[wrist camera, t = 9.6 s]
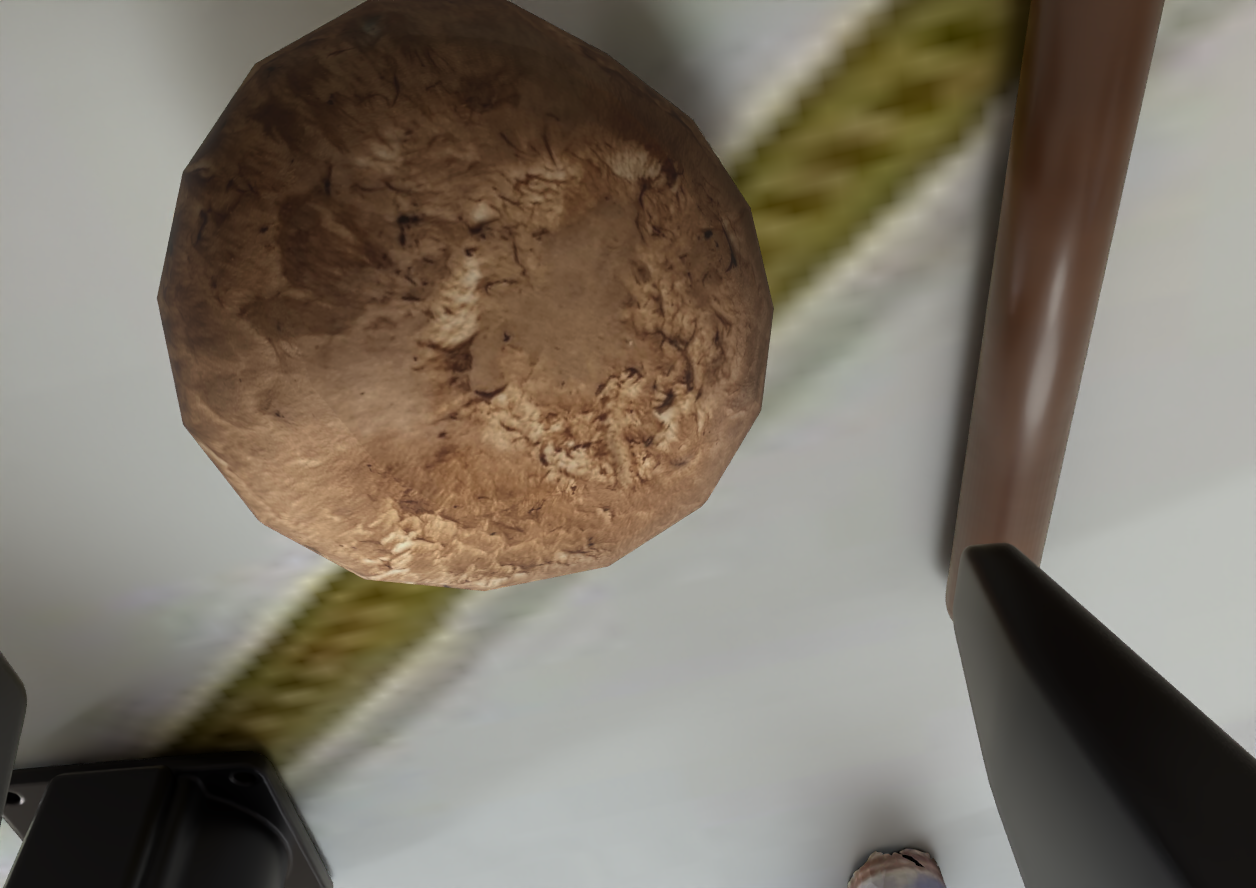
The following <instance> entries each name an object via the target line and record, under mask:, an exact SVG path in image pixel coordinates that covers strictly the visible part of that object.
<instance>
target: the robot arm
mask: <svg viewBox="0 0 1256 888" xmlns="http://www.w3.org/2000/svg"><path fill="white" fill-rule="evenodd" d="M953 623H954V630H955V635H956V640H957V644H958V648H959V653H960V657H961V662H962V666H963V671H964V675H965V680H966V684H967V689H968V693H969V697H970V702H971V706H972V711H973V715H974V720H975V724H976V729H977V733H978V737H979V742H980V746H981V751H982V755H983V760H984V764H985V768H986V772H987V776H988V780H989V784H990V787H991V790H992V793H993V796H994V800H995V803H996V806H997V809H998V812H999V815H1000V817H1001V820H1002V823H1003V826H1004V829H1005V832H1006V834H1007V837H1008V840H1009V843H1010V846H1011V849H1012V851H1013V854H1014V857H1015V860H1016V863H1017V866H1018V868H1019V871H1020V874H1021V877H1022V880H1023V883H1024V885H1025V888H1256V759H1255V758H1254V757H1253V756H1252V755H1250V754H1249V753H1248V752H1247V751H1246V750H1245V749H1244V748H1242V747H1241V746H1240V745H1239V744H1238V743H1237V742H1236V741H1235V740H1233V739H1232V738H1231V737H1230V736H1229V735H1228V734H1227V733H1226V732H1224V731H1223V730H1222V729H1221V728H1220V727H1219V726H1218V725H1217V724H1215V723H1214V722H1213V721H1212V720H1211V719H1210V718H1209V717H1207V716H1206V715H1205V714H1204V713H1203V712H1202V711H1201V710H1200V709H1198V708H1197V707H1196V706H1195V705H1194V704H1193V703H1192V702H1191V701H1189V700H1188V699H1187V698H1186V697H1185V696H1184V695H1183V694H1181V693H1180V692H1179V691H1178V690H1177V689H1176V688H1175V687H1174V686H1172V685H1171V684H1170V683H1169V682H1168V681H1167V680H1166V679H1165V678H1163V677H1162V676H1161V675H1160V674H1159V673H1158V672H1157V671H1155V670H1154V669H1153V668H1152V667H1151V666H1150V665H1149V664H1148V663H1146V662H1145V661H1144V660H1143V659H1142V658H1141V657H1140V656H1139V655H1137V654H1136V653H1135V652H1134V651H1133V650H1132V649H1131V648H1130V647H1128V646H1127V645H1126V644H1125V643H1124V642H1123V641H1122V640H1120V639H1119V638H1118V637H1117V636H1116V635H1115V634H1114V633H1113V632H1111V631H1110V630H1109V629H1108V628H1107V627H1106V626H1105V625H1104V624H1102V623H1101V622H1100V621H1099V620H1098V619H1097V618H1096V617H1094V616H1093V615H1092V614H1091V613H1090V612H1089V611H1088V610H1087V609H1085V608H1084V607H1083V606H1082V605H1081V604H1080V603H1079V602H1078V601H1076V600H1075V599H1074V598H1073V597H1072V596H1071V595H1070V594H1068V593H1067V592H1066V591H1065V590H1064V589H1063V588H1062V587H1061V586H1059V585H1058V584H1057V583H1056V582H1055V581H1054V580H1053V579H1052V578H1050V577H1049V576H1048V575H1047V574H1046V573H1045V572H1044V571H1043V570H1041V569H1040V568H1039V567H1038V566H1037V565H1036V564H1035V563H1033V562H1032V561H1031V560H1030V559H1029V558H1028V557H1027V556H1026V555H1024V554H1023V553H1022V552H1021V551H1020V550H1019V549H1018V548H1016V547H1015V546H1013V545H1011V544H1009V543H992V544H980V545H970V546H968V547H966V548H965V549H964V550H963V552H962V554H961V557H960V563H959V569H958V576H957V583H956V589H955V596H954V602H953ZM26 706H27V697H26V690H25V687H24V684H23V682H22V681H21V679H20V678H19V676H18V675H17V673H16V672H15V671H14V669H13V668H12V666H11V665H10V664H9V662H8V661H7V660H6V658H5V657H4V655H3V654H2V653H1V651H0V825H1V821H2V817H3V818H4V820H5V821H6V822H7V823H8V824H9V826H10V827H11V828H12V829H13V830H14V831H15V833H16V834H17V835H18V836H19V837H20V839H21V840H22V841H23V843H22V845H21V847H20V850H19V852H18V854H17V857H16V859H15V861H14V864H13V866H12V868H11V870H10V873H9V875H8V877H7V880H6V882H5V884H4V887H3V888H333V882H332V880H331V878H330V876H329V874H328V872H327V870H326V868H325V866H324V865H323V863H322V861H321V859H320V857H319V855H318V853H317V851H316V849H315V847H314V845H313V843H312V841H311V839H310V838H309V836H308V834H307V832H306V830H305V828H304V826H303V824H302V822H301V820H300V818H299V816H298V814H297V812H296V811H295V809H294V807H293V805H292V803H291V801H290V799H289V797H288V795H287V793H286V791H285V789H284V787H283V786H282V784H281V782H280V780H279V778H278V776H277V774H276V772H275V770H274V768H273V766H272V764H271V762H270V761H269V760H268V759H267V758H266V757H265V756H263V755H261V754H259V753H255V752H251V751H237V752H224V753H212V754H200V755H187V756H175V757H163V758H150V759H138V760H126V761H113V762H101V763H89V764H76V765H64V766H52V767H39V768H27V769H15V770H13V767H14V762H15V758H16V753H17V749H18V745H19V740H20V736H21V731H22V727H23V722H24V718H25V713H26Z"/></svg>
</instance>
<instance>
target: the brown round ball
mask: <svg viewBox="0 0 1256 888" xmlns="http://www.w3.org/2000/svg"><path fill="white" fill-rule="evenodd" d="M157 301H158V305H159V310H160V315H161V320H162V325H163V330H164V334H165V339H166V344H167V349H168V354H169V358H170V363H171V368H172V373H173V378H174V383H175V387H176V392H177V397H178V402H179V407H180V412H181V416H182V421H183V425H184V426H185V427H186V429H187V430H188V431H189V433H190V434H191V435H192V436H193V438H194V439H195V440H196V441H197V443H198V444H199V445H200V447H201V448H202V449H203V450H204V452H205V453H206V454H207V455H208V457H209V458H210V459H211V461H212V462H213V463H214V464H215V466H216V467H217V468H218V469H219V471H220V472H221V473H222V475H223V476H224V477H225V478H226V480H227V481H228V482H229V483H230V485H231V486H232V487H233V489H234V490H235V491H236V492H237V494H238V495H239V496H240V498H241V499H242V500H243V501H244V503H245V504H246V505H247V506H248V508H249V509H250V510H251V512H252V513H253V514H254V515H255V517H256V518H257V519H258V520H259V521H260V522H262V523H263V524H264V525H266V526H268V527H269V528H271V529H273V530H275V531H277V532H279V533H280V534H282V535H284V536H286V537H288V538H290V539H292V540H293V541H295V542H297V543H299V544H301V545H303V546H304V547H306V548H308V549H310V550H312V551H314V552H316V553H317V554H319V555H321V556H323V557H325V558H327V559H328V560H330V561H332V562H334V563H336V564H338V565H340V566H341V567H343V568H345V569H347V570H349V571H351V572H353V573H354V574H356V575H358V576H360V577H362V578H364V579H367V580H377V581H388V582H398V583H408V584H419V585H429V586H439V587H450V588H460V589H470V590H481V591H487V590H492V589H497V588H502V587H507V586H512V585H517V584H522V583H527V582H532V581H537V580H542V579H547V578H552V577H557V576H562V575H567V574H572V573H577V572H582V571H587V570H592V569H597V568H602V567H607V566H609V565H611V564H613V563H614V562H616V561H617V560H619V559H620V558H622V557H624V556H625V555H627V554H628V553H630V552H631V551H633V550H634V549H636V548H638V547H639V546H641V545H642V544H644V543H645V542H647V541H648V540H650V539H652V538H653V537H655V536H656V535H658V534H659V533H661V532H663V531H664V530H666V529H667V528H669V527H670V526H672V525H673V524H675V523H677V522H678V521H680V520H681V519H683V518H684V517H686V516H688V515H689V514H691V513H692V512H694V511H695V510H697V509H698V508H700V507H702V505H703V504H704V503H705V502H706V501H707V500H708V498H709V496H710V495H711V493H712V491H713V490H714V488H715V486H716V485H717V483H718V481H719V480H720V478H721V476H722V475H723V473H724V471H725V470H726V468H727V466H728V465H729V463H730V461H731V460H732V458H733V456H734V455H735V453H736V451H737V450H738V448H739V446H740V445H741V443H742V441H743V440H744V438H745V436H746V435H747V433H748V431H749V430H750V428H751V426H752V425H753V423H754V421H755V420H756V418H757V416H758V415H759V413H760V411H761V407H762V399H763V391H764V383H765V375H766V367H767V359H768V350H769V342H770V334H771V326H772V318H773V310H774V308H773V303H772V299H771V295H770V290H769V286H768V282H767V277H766V273H765V269H764V264H763V260H762V256H761V251H760V247H759V243H758V238H757V234H756V230H755V225H754V221H753V217H752V212H751V208H750V206H749V205H748V203H747V202H746V200H745V199H744V197H743V196H742V194H741V193H740V191H739V190H738V188H737V187H736V185H735V183H734V182H733V180H732V179H731V177H730V176H729V174H728V173H727V171H726V170H725V168H724V167H723V165H722V164H721V162H720V160H719V159H718V157H717V156H716V154H715V153H714V151H713V150H712V148H711V147H710V145H709V144H708V142H707V141H706V139H705V137H704V136H703V134H702V133H701V131H700V130H699V128H698V127H697V125H696V124H695V122H694V121H693V119H691V118H690V117H689V116H687V115H686V114H685V113H684V112H682V111H681V110H680V109H678V108H677V107H676V106H674V105H673V104H672V103H671V102H669V101H668V100H667V99H665V98H664V97H663V96H661V95H660V94H659V93H658V92H656V91H655V90H654V89H652V88H651V87H650V86H648V85H647V84H646V83H645V82H643V81H642V80H641V79H639V78H638V77H637V76H635V75H634V74H633V73H631V72H630V71H629V70H628V69H626V68H625V67H624V66H622V65H621V64H620V63H618V62H617V61H616V60H615V59H613V58H612V57H611V56H609V55H608V54H607V53H605V52H603V51H601V50H599V49H597V48H595V47H594V46H592V45H590V44H588V43H586V42H584V41H582V40H580V39H579V38H577V37H575V36H573V35H571V34H569V33H567V32H566V31H564V30H562V29H560V28H558V27H556V26H554V25H552V24H551V23H549V22H547V21H545V20H543V19H541V18H539V17H537V16H536V15H534V14H532V13H530V12H528V11H526V10H524V9H522V8H521V7H519V6H517V5H515V4H513V3H511V2H509V1H507V0H367V1H365V2H364V3H362V4H360V5H358V6H357V7H355V8H353V9H351V10H350V11H348V12H346V13H344V14H342V15H341V16H339V17H337V18H335V19H334V20H332V21H330V22H328V23H326V24H325V25H323V26H321V27H319V28H318V29H316V30H314V31H312V32H311V33H309V34H307V35H305V36H303V37H302V38H300V39H298V40H296V41H295V42H293V43H291V44H289V45H288V46H286V47H284V48H282V49H280V50H279V51H277V52H275V53H273V54H272V55H270V56H268V57H266V58H264V59H263V60H261V61H259V62H257V63H256V64H255V65H254V66H253V68H252V69H251V71H250V72H249V74H248V75H247V77H246V78H245V80H244V81H243V83H242V84H241V86H240V87H239V89H238V90H237V92H236V93H235V95H234V96H233V98H232V99H231V101H230V102H229V104H228V105H227V107H226V108H225V110H224V111H223V113H222V114H221V116H220V117H219V119H218V120H217V122H216V123H215V125H214V126H213V128H212V129H211V131H210V132H209V134H208V135H207V137H206V138H205V140H204V141H203V143H202V144H201V146H200V147H199V149H198V150H197V152H196V153H195V155H194V156H193V158H192V159H191V161H190V162H189V164H188V165H187V167H186V168H185V170H184V171H183V174H182V179H181V184H180V189H179V193H178V198H177V203H176V208H175V213H174V218H173V223H172V227H171V232H170V237H169V242H168V247H167V252H166V257H165V261H164V266H163V271H162V276H161V281H160V286H159V291H158V296H157Z"/></svg>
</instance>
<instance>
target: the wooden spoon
mask: <svg viewBox="0 0 1256 888" xmlns="http://www.w3.org/2000/svg"><path fill="white" fill-rule="evenodd" d="M1164 2H1165V0H1031V4H1030V11H1029V18H1028V25H1027V32H1026V39H1025V46H1024V53H1023V60H1022V67H1021V74H1020V81H1019V88H1018V95H1017V102H1016V108H1015V115H1014V122H1013V129H1012V136H1011V143H1010V150H1009V157H1008V164H1007V171H1006V178H1005V185H1004V192H1003V199H1002V206H1001V213H1000V220H999V227H998V233H997V240H996V247H995V254H994V261H993V268H992V275H991V282H990V289H989V296H988V303H987V310H986V317H985V324H984V331H983V338H982V345H981V351H980V358H979V365H978V372H977V379H976V386H975V393H974V400H973V407H972V414H971V421H970V428H969V435H968V442H967V449H966V456H965V463H964V470H963V476H962V483H961V490H960V497H959V504H958V511H957V518H956V525H955V532H954V539H953V546H952V553H951V560H950V567H949V574H948V581H947V588H946V607H947V610H948V613H949V616H950V618H951V619H952V621H953V602H954V596H955V589H956V583H957V576H958V569H959V563H960V557H961V554H962V552H963V550H964V549H965V548H966V547H968V546H970V545H980V544H992V543H1009V544H1011V545H1013V546H1015V547H1016V548H1018V549H1019V550H1020V551H1021V552H1022V553H1023V554H1024V555H1026V556H1027V557H1028V558H1029V559H1030V560H1031V561H1032V562H1033V563H1035V564H1036V565H1037V566H1038V567H1039V568H1040V563H1041V559H1042V554H1043V550H1044V545H1045V541H1046V536H1047V532H1048V527H1049V523H1050V518H1051V514H1052V509H1053V504H1054V500H1055V495H1056V491H1057V486H1058V482H1059V477H1060V473H1061V468H1062V464H1063V459H1064V455H1065V450H1066V446H1067V441H1068V436H1069V432H1070V427H1071V423H1072V418H1073V414H1074V409H1075V405H1076V400H1077V396H1078V391H1079V387H1080V382H1081V378H1082V373H1083V369H1084V364H1085V359H1086V355H1087V350H1088V346H1089V341H1090V337H1091V332H1092V328H1093V323H1094V319H1095V314H1096V310H1097V305H1098V301H1099V296H1100V292H1101V287H1102V282H1103V278H1104V273H1105V269H1106V264H1107V260H1108V255H1109V251H1110V246H1111V242H1112V237H1113V233H1114V228H1115V224H1116V219H1117V214H1118V210H1119V205H1120V201H1121V196H1122V192H1123V187H1124V183H1125V178H1126V174H1127V169H1128V165H1129V160H1130V156H1131V151H1132V147H1133V142H1134V137H1135V133H1136V128H1137V124H1138V119H1139V115H1140V110H1141V106H1142V101H1143V97H1144V92H1145V88H1146V83H1147V79H1148V74H1149V69H1150V65H1151V60H1152V56H1153V51H1154V47H1155V42H1156V38H1157V33H1158V29H1159V24H1160V20H1161V15H1162V11H1163V6H1164Z"/></svg>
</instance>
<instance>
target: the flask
mask: <svg viewBox="0 0 1256 888" xmlns="http://www.w3.org/2000/svg"><path fill="white" fill-rule="evenodd" d="M900 853H901V854H898V853H893V854H892V856H891V855H890V854H884V855H883V854H882V853H878V852H877V851H875V852H874V853H872V854H871V855H870V857H869V858H868V859H867V860H868V861H867V862H866V863H864V866H862V867H861V868H859V870H857V871H855V872H854V873H853V877H852V878H851V880H850V881H849V882H848V886H847V887H848V888H946V885H945V883H944V880H943V877H942V874H941V871H940V868H939V866H938V865H937V863H936V861H935V860H934V858H933V859H931V858H930V855H929V853H923V852H920V851H918V850H916V849H915V850H914V849H908V848H907V849H905V850H902V851H900ZM902 855H908V856H912V857H913V858H914V859H915V860H917V861H918V862H919V863H920V864H921V865H922V866H924V867H925V868H924V867H920V866H916V865H915V863H914V862H912V861H910V860H908V859H906V858H904V857H902Z"/></svg>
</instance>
